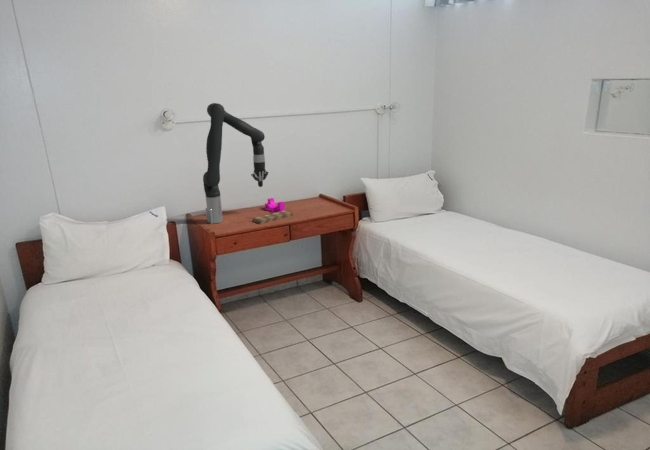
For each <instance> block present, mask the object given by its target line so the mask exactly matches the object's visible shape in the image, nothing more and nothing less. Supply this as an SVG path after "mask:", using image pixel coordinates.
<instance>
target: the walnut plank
mask: <svg viewBox="0 0 650 450" xmlns="http://www.w3.org/2000/svg"><path fill="white" fill-rule="evenodd" d="M289 217H293V212H291V211H288V210H286V209H285V210H284V211H280V212H271V213H268V214H264V215H260V216H256V217H252V222H253V223H256V224H259V225H262V224H265V223H266V224H267V223H270V222H274V221H277V220H282V219H285V218H289Z"/></svg>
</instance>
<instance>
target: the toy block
mask: <svg viewBox="0 0 650 450" xmlns="http://www.w3.org/2000/svg"><path fill="white" fill-rule="evenodd" d="M264 210H266V211H268V212H271V213H275V212H280V211H284V210H285V211H286V208H285V201H283V200H282V201H279V202H277V204H276V201H275V198H273V197H270V198H267V202H266V203H264Z"/></svg>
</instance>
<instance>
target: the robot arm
mask: <svg viewBox="0 0 650 450" xmlns="http://www.w3.org/2000/svg"><path fill="white" fill-rule="evenodd" d="M206 113H207V115H208V116H209V117H210V126H209V127H210V128H209V131H208V134H207V138H206V146H205V149H206V150H205V152H206V158H207V159H206V160H207V170H206V172H204V174H203V175H202V181H203V189H204V191H203V192H204V194H205V202H206V207H205V216H206V217H205V218H206V223H209V224H211V225H212V224H213V225H214V224H219V223H222V222H224V221H223V210H222V199H221V191H220V187H219V184H220V181H221V174H220V173H221V171H220V170H221V167H220V164H221V156H222V147H223V142H222V141H223V125H224V124H227V125H228V126H229V127H232V128H233V129H235V130H237V132H240V133H242V134H243V135H244V136H247V137H250V139H251V140H250V141H251V145H252V151H253V152H252V153H253V156H252V160H253V161H252V162H253V172H252V173H251V174H250V176H251V177H252V178H253V180H255V181H257V185H258V187H259V188H262V187H263V185H264V182H263V181H265V180H266V178H267V177H268V175H269V171H267V170H266V158H265V147H264V145H263V143H262V142H263V141H264V140H265V138H266V137H265V133H264V132H263V131H262V130H260V129H258V128H256V127H254V126H252V125H251V124H249V123H247V122H246V121H244V120H242V119H240V118H238V117H236V116H234V115H233V114H231V113H229V112H227V111H226V110H225V108H224V105H222V104H220V103H218V102H217V103H216V102H214V103H213V102H212V103H210V104H208V106H207V107H206Z"/></svg>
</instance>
